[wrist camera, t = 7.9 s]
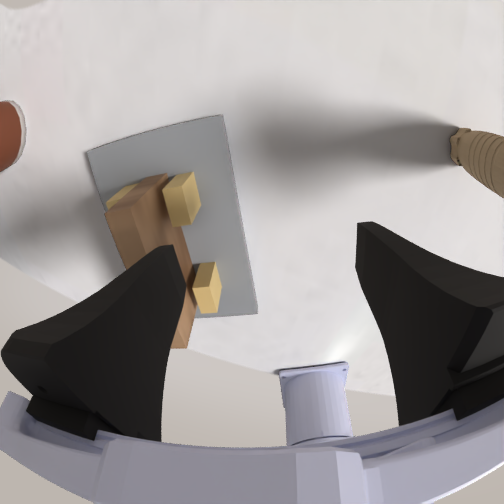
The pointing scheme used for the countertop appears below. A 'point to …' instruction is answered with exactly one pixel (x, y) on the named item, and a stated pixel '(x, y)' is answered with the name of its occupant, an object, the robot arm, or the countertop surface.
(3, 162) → the coffee cup
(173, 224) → the hinge board
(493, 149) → the handle
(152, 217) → the door panel
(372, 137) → the countertop surface
